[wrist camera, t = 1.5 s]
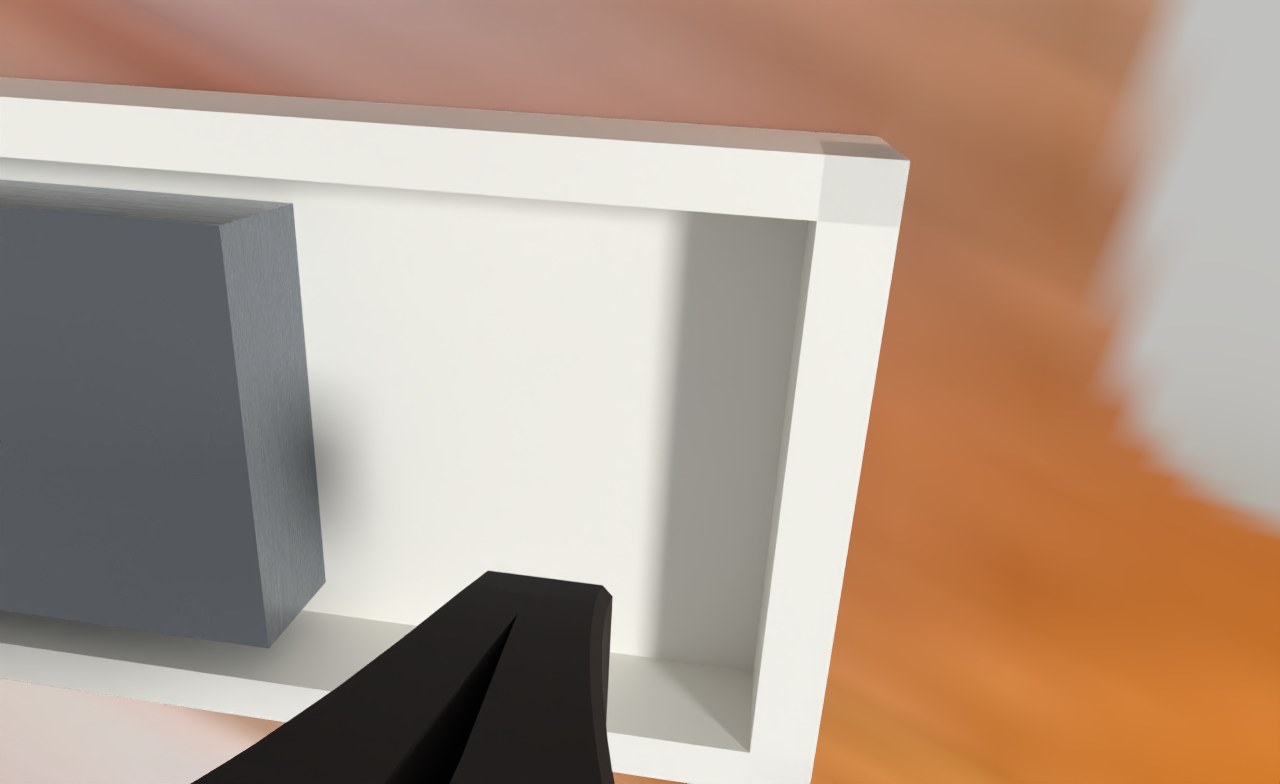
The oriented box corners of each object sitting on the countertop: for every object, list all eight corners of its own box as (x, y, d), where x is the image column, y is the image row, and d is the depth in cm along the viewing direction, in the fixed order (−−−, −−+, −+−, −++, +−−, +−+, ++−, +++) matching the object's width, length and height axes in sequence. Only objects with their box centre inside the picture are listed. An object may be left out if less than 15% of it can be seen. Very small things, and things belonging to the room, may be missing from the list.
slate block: (325, 582, 16) (268, 648, 15) (-61, 530, 17) (-161, 587, 16) (293, 203, 14) (219, 226, 12) (-157, 166, 15) (-290, 182, 13)
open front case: (801, 663, 17) (807, 801, 14) (15, 556, 19) (-138, 657, 16) (877, 136, 14) (910, 161, 11) (-98, 70, 16) (-325, 73, 12)
